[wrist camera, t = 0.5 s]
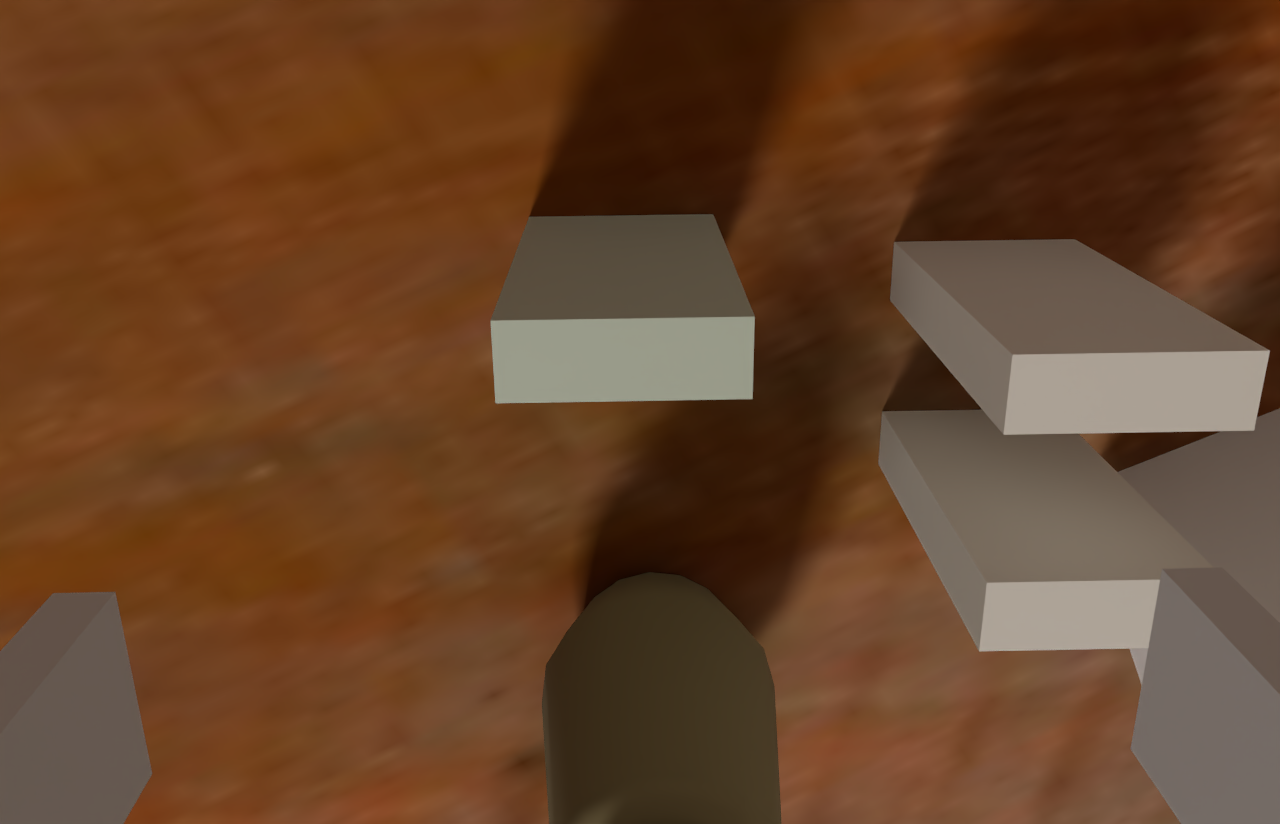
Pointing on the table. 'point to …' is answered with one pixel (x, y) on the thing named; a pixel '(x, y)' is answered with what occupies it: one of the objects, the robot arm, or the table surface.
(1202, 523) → the milk
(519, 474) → the table surface
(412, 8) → the table surface
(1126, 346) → the domino
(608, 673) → the squeeze bottle
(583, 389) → the domino
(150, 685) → the table surface
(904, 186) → the table surface
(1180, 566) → the domino
